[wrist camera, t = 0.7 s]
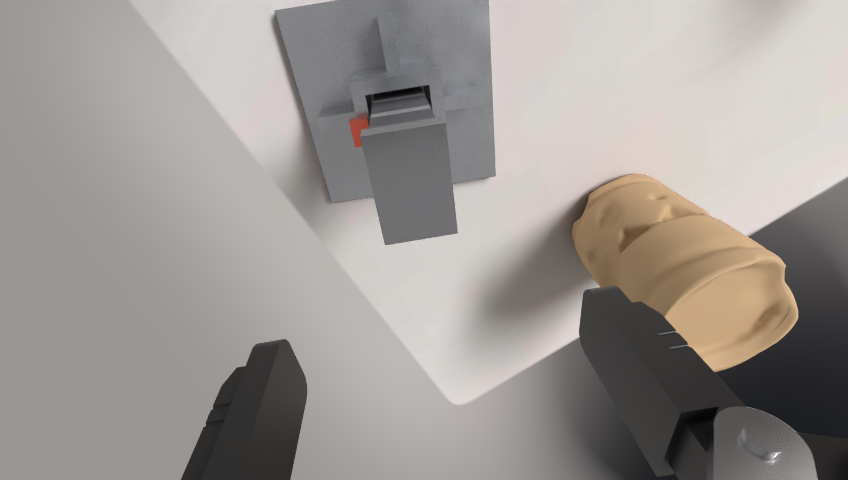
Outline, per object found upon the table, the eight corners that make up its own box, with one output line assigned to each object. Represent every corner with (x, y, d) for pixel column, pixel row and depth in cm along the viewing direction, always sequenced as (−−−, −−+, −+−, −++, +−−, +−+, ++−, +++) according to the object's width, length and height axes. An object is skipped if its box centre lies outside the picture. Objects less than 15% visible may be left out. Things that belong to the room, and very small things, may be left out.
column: (372, 74, 34) (360, 136, 17) (415, 67, 34) (445, 122, 17) (385, 139, 37) (385, 245, 20) (424, 133, 37) (457, 233, 20)
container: (626, 151, 42) (766, 232, 26) (686, 209, 46) (834, 306, 31) (545, 232, 46) (623, 341, 31) (607, 277, 51) (702, 391, 36)
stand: (277, 10, 32) (242, 10, 24) (484, -24, 32) (516, -35, 24) (333, 199, 42) (321, 242, 34) (493, 172, 42) (518, 210, 34)
